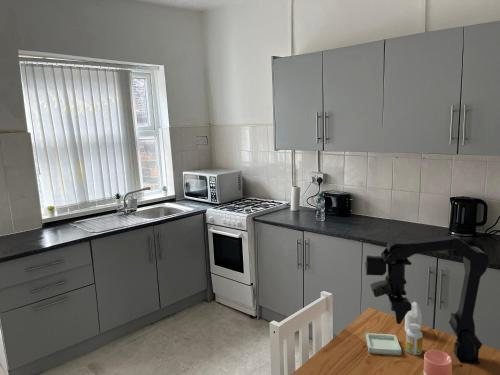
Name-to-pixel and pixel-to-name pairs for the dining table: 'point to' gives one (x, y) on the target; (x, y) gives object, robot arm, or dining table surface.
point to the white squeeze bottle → (413, 316)
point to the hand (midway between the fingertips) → (395, 317)
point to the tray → (383, 344)
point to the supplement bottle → (414, 339)
